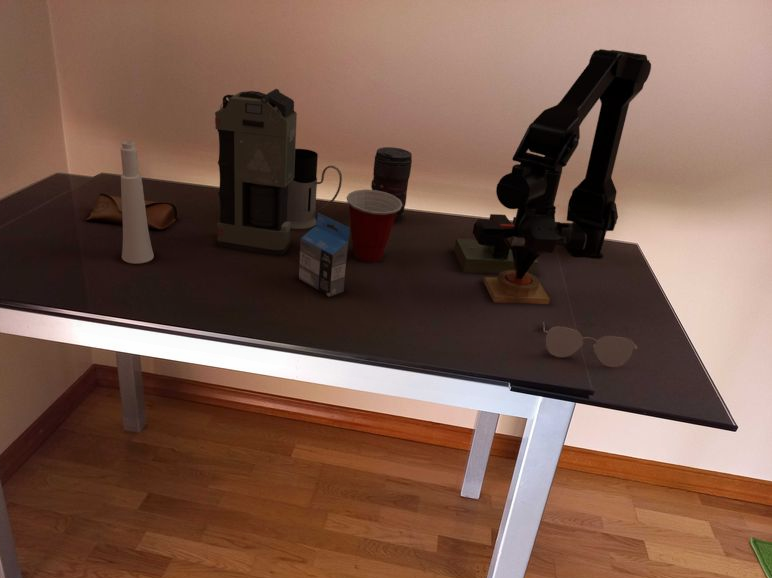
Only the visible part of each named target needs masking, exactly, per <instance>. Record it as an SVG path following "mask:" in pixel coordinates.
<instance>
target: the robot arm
mask: <svg viewBox="0 0 772 578" xmlns="http://www.w3.org/2000/svg"><path fill="white" fill-rule="evenodd" d="M651 70H652V64H651V61H650V60H649V59H648V56H647V55H646V54H644V53H643V54H642V53H637V52H630V51H629V52H628V51H622V50H615V49H603V48H600V49H596V50H594V51H593V52H592V54H591V55H590V58H589V60H588V64H587V65H586V67H585V68H584V69H583V71H581V73H580V75H579V76H578V77H577V78H576V79H575V81H574V83H572V85H571V87H570V88H569V89H568V90H567V92H566V93H565V95H564V96H563V97H562V98H561V100H560V101H559V102H558V103H557V104H556V105H553V106H551V107H549V108H546V109H543V111H542V112H540V114H539V115H538V116H537V117H536V118H535V119H534V120H533V121H532V122H531V123H530V124H529V125H528V126H527V128H526V131H525V133H524V135H523V137H522V139H521V141H520V143H519V145H518V146H517V149H516V151H515V153H514V154H513V156H512V161H513V162H518V163H519V164H518V163H516V164H514V165H512V166H511V167H512V168H511V172H509V173H507V174H505V175H503V176H502V177H501V178H500V179H499V181H498V183H497V184H496V188H495V194H496V197H497V200H498V201H499V203H500V204H501V205H502V206H503V207H504V208H506V209H509V210H516V214H515V216H513V218H512V225H513V226H514V227H502V226H501V225H500V223H499V222H498V220H489V219H486V218H485V219H484V218H478V219H477V220H476V221H475V222H474V224H473V227H472V234H473V236H474V239H476V240H477V242H478V244H480V245H487V246H498V245H499V244H500V243H502V242H503V240H504V241H505V243H506V244H507V246H508V247H509V249H510V250H511V251H512V255H513V261H514V266H515V272H516V277H517V279H522V278H523V277H524V275H525V274H526V272H527V271H528V269H529V268H530V266H531V265H532V264H533V262H534V261H535V260H536V259H538V258H539V257H540V255H542V254H544V253H546V254H553V253H554V252H555V250H556V248H557V247H558V246H563V247H564V248H565V249H566V250H567V251H568V253H569V254H570V255H571V256H572V257H577V258H598V259H599V258H600V259H601V258H602V259H603V258H604V254H603V253H602V252H601V251H602V248H603V244H604V241H605V237H606V235H607V232H614V230H615V227H616V225H617V223H618V222H617V221H618V218H619V215H618V207H617V204H616V198H617V192H618V191H617V188H616V186H615V183H614V180H613V179H612V177H613V172H614V168H615V164H616V161H617V155H618V152H619V147H620V143H621V139H622V135H623V131H624V127H625V122H626V120H627V119H626V118H627V115H628V111H629V106H630V103H631V102H632V101H633V100H634V99H635V98H636V97H637V96H638V95H639V94H640V93H641V92H642V90H643V89H644V86H645V83H646V82H647V80H648V79H649V77H650V74H651ZM598 101H600V109H599V113H598V118H597V122H596V127H595V132H594V136H593V141H592V146H591V150H590V154H589V160H588V162H587V168H586V172H585V177H584V179H582V181H580V183H579V184H577V186H576V187H575V188H573V190H572V191H571V195H570V198H569V199H568V203H567V212H566V214H567V215H566V221H567V222H561V221H556V212H557V211H556V209H557V206H555V202H556V198H557V193H558V191H559V190H558V189H559V185H560V182H561V177H562V173H563V168H565V167H566V166H567V165H568V162H569V161H570V159H571V157H572V156H573V154H574V153H575V151H576V150H577V148H578V146H579V143H580V142H579V140H580V138H581V132H580V126H581V125H582V123H583V121H584V120H585V119H586V117H587V116H588V115H589V113H590V112H591V111H592V110H593V108H594V107H595V105H596V103H597V102H598ZM528 151H529V152H528Z"/></svg>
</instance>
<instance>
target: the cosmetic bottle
mask: <svg viewBox="0 0 772 578" xmlns="http://www.w3.org/2000/svg"><path fill="white" fill-rule="evenodd" d="M135 143H136V142H135V141H132V140H124V141H122V142H121V146H122V147H121V148H120V157H121V169H122V173H121V175H120V190H121V191H120V194H121V196H120V197H121V198H122V219H123V225H122V250H121V260H122V261H124V262H126V263H127V264H136V265H137V264H144V263H149V262H150V261H152V260H153V259H154V257H155V254H154V251H153V247H152V242H151V237H150V231H149V229H148V224H147V217H146V209H145V201H144V200H145V194H144V193H145V192H144V186H143V185H144V184H143V178H142V174H140V171H139V163H138V162H139V160H138V149H137V147H136V146H135V145H136V144H135Z"/></svg>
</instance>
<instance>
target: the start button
mask: <svg viewBox="0 0 772 578" xmlns="http://www.w3.org/2000/svg"><path fill="white" fill-rule="evenodd" d="M506 280H507V281H509V282H511V283H514V284H518V285H528V284H531V278H530V277H528V276H527V275H524V277H523V278H522V279H517V277H516V273H510V274H508V275H507V277H506Z"/></svg>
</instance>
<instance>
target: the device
mask: <svg viewBox="0 0 772 578" xmlns="http://www.w3.org/2000/svg"><path fill="white" fill-rule="evenodd" d="M214 115H215V117H214V124H215V127H214V128H215V130H217V132H218V133H217V134H218V143H219V144H218V146H219V147H218V160H217V165H218V169H219V189H218V190H219V191H218V194H217V195H218V197H219V221H217V223H216V228H217V237H216V241H217V246H218V247H222V248H227V249H235V250H240V251H247V252H253V253H260V254H265V255H271V256H272V255H273V256H282V255H284V254H285V253H286V252H287V251H288V249H289V248H290V244H291V243H290V242H291V229H292V228H291V222H287V204H288V184H289V183H290V182H291V181H292V180H293V179H294V170H295V149H296V140H297V115H298V113H297V112H296V111H295V101H294V99H292V98H290V97H289V96H287V95H285V94H284V93H281V91H280V89H278V88H274V89H273V90H270V91H269V92H268V93H263V92H260V91H255V90H249V91H240V92H238V93H236V94H226V95H224V96H223V97H222V103H221V104H220V106H219V110H216V111H215V112H214Z"/></svg>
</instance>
